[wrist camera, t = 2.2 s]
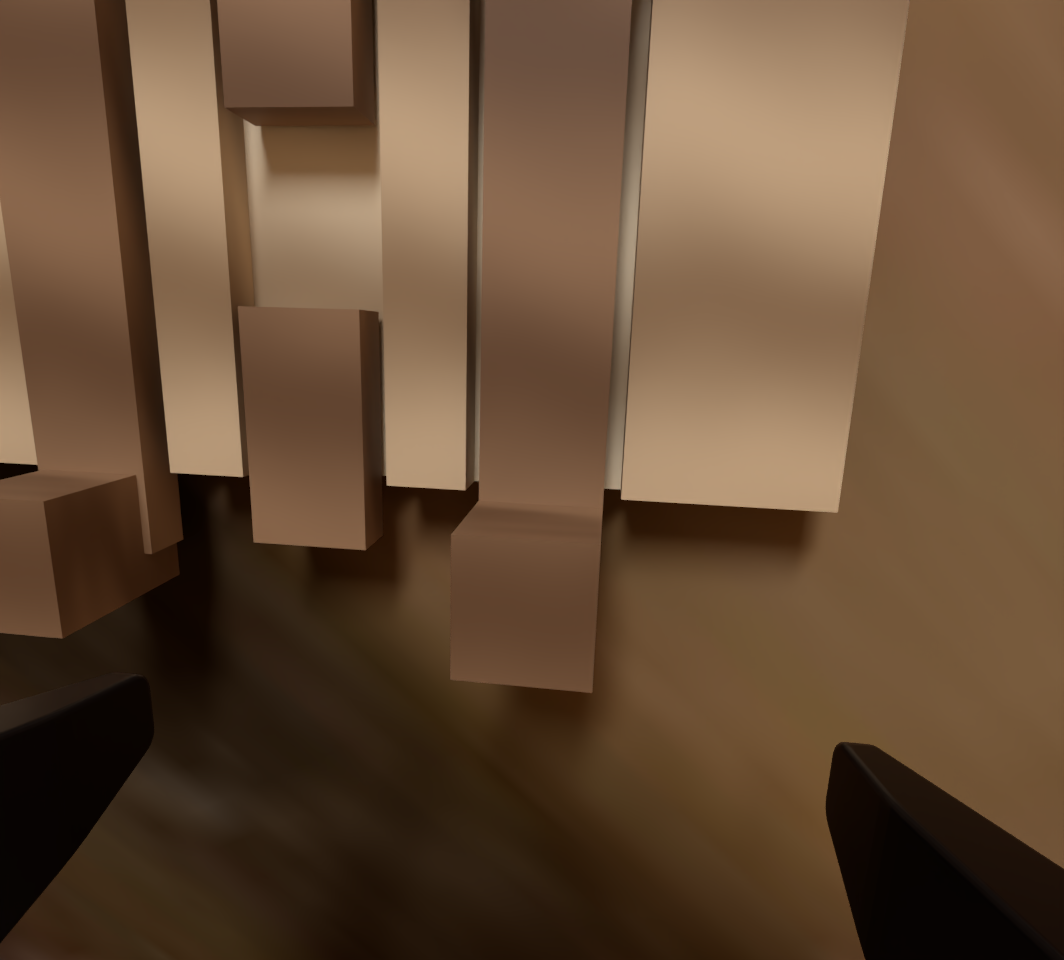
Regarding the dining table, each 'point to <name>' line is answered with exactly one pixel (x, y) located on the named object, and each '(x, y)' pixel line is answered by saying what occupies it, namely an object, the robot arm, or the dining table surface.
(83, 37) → the strip
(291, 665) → the dining table surface
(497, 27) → the strip
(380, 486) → the lane board
